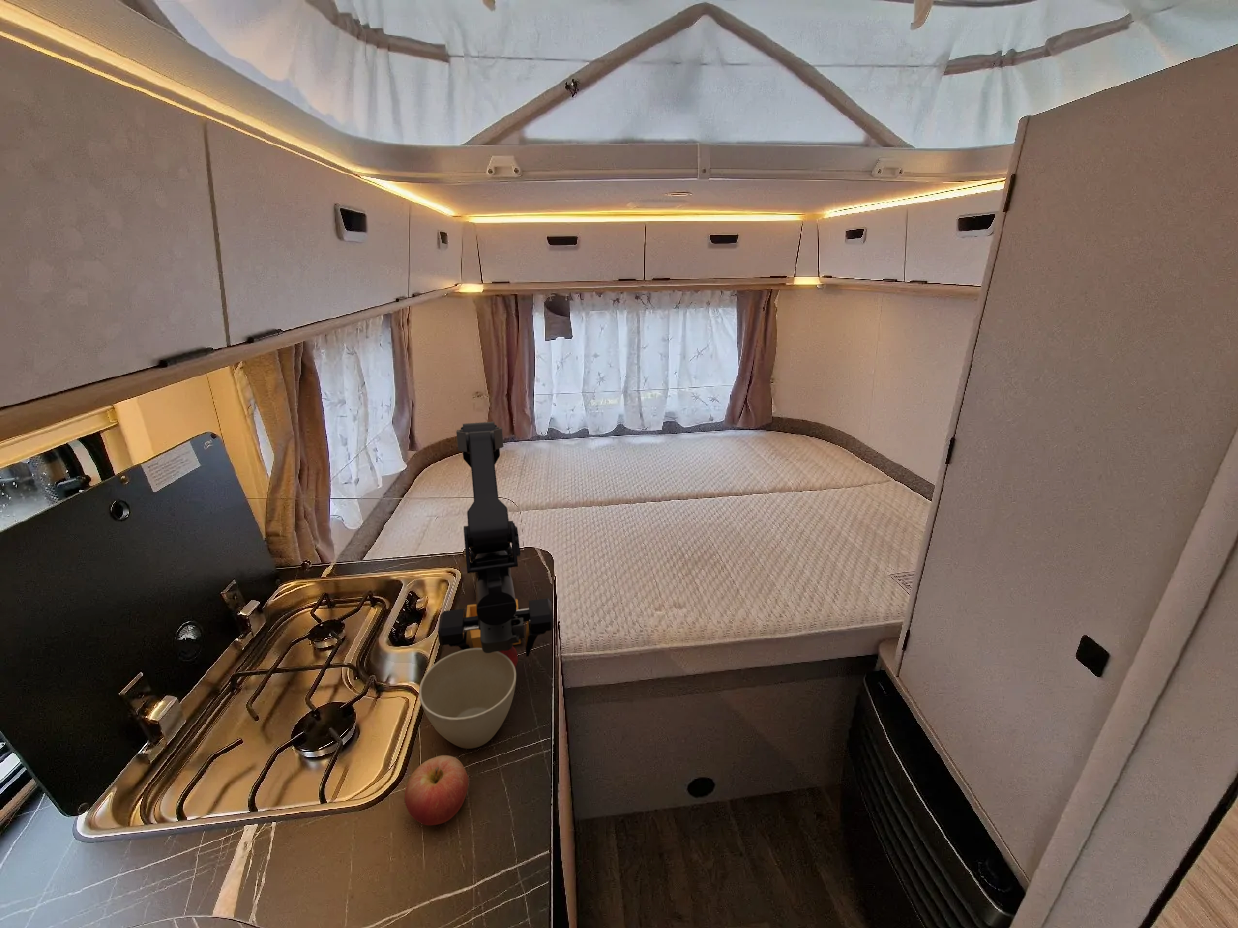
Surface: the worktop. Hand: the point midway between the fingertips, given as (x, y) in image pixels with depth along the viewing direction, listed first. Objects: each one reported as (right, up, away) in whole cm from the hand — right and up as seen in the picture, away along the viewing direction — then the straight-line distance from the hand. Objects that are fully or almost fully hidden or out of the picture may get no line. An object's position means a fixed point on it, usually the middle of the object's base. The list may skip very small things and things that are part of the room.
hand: (500, 658), depth 91 cm
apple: (-3, -13, -21) cm, 24 cm away
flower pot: (-2, -8, -9) cm, 12 cm away
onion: (0, -4, +1) cm, 4 cm away
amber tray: (-4, +1, +12) cm, 13 cm away
